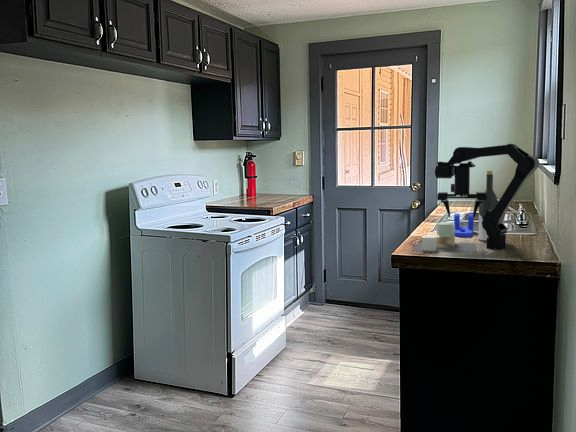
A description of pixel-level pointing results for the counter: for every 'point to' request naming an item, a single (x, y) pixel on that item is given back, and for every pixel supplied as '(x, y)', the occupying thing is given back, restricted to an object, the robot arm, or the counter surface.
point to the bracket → (463, 230)
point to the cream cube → (429, 243)
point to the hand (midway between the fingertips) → (461, 217)
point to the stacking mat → (458, 248)
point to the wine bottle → (486, 205)
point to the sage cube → (445, 229)
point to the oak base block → (445, 242)
